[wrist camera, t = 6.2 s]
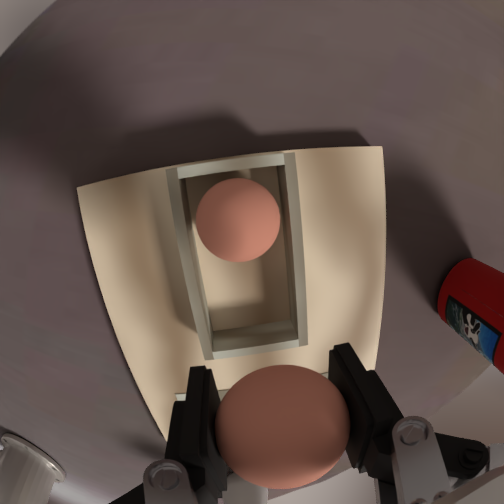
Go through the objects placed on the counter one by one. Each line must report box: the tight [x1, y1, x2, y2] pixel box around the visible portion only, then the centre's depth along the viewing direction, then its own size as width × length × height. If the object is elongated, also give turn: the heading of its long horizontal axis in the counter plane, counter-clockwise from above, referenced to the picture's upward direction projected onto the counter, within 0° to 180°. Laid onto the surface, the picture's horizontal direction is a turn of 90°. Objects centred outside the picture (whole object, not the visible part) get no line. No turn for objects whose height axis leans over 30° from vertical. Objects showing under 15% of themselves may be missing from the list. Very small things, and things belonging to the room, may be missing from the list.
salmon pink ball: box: [215, 365, 351, 489], centre depth 8 cm, size 4×4×4 cm
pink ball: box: [196, 178, 280, 262], centre depth 15 cm, size 4×4×4 cm
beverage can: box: [438, 258, 504, 374], centre depth 17 cm, size 7×7×12 cm
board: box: [77, 146, 386, 441], centre depth 20 cm, size 20×26×4 cm
